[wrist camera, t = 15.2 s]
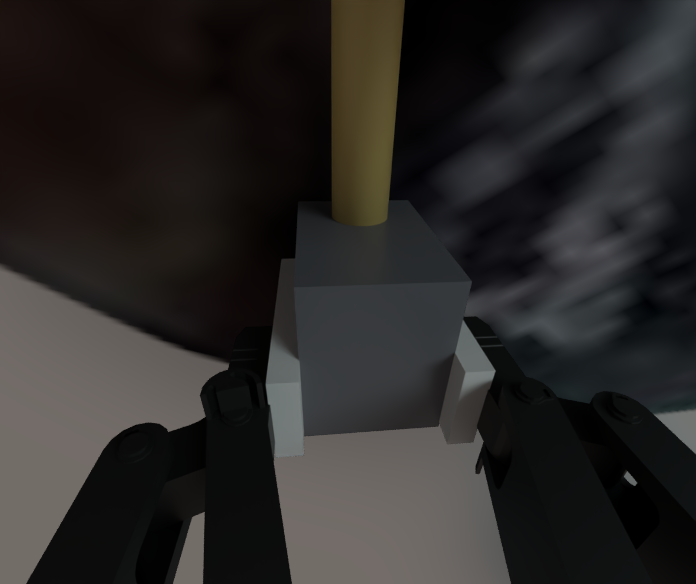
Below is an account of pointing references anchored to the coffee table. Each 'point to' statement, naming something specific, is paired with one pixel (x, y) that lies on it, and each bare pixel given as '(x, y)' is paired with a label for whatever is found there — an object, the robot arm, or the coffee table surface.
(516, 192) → the coffee table surface
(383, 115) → the yellow handled grey mallet
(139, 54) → the coffee table surface
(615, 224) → the coffee table surface
